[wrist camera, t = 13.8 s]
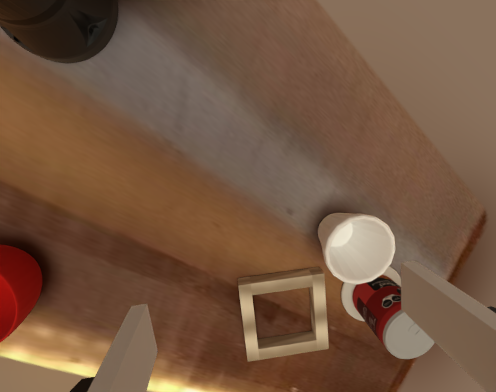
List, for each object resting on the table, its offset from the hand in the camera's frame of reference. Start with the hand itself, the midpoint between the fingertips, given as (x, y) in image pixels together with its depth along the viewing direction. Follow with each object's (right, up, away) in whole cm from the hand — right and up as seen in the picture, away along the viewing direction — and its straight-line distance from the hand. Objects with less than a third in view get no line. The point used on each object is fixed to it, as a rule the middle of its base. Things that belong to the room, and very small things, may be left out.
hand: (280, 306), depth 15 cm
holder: (+4, -14, +36) cm, 39 cm away
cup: (+13, 0, +34) cm, 36 cm away
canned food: (+20, -11, +36) cm, 43 cm away
